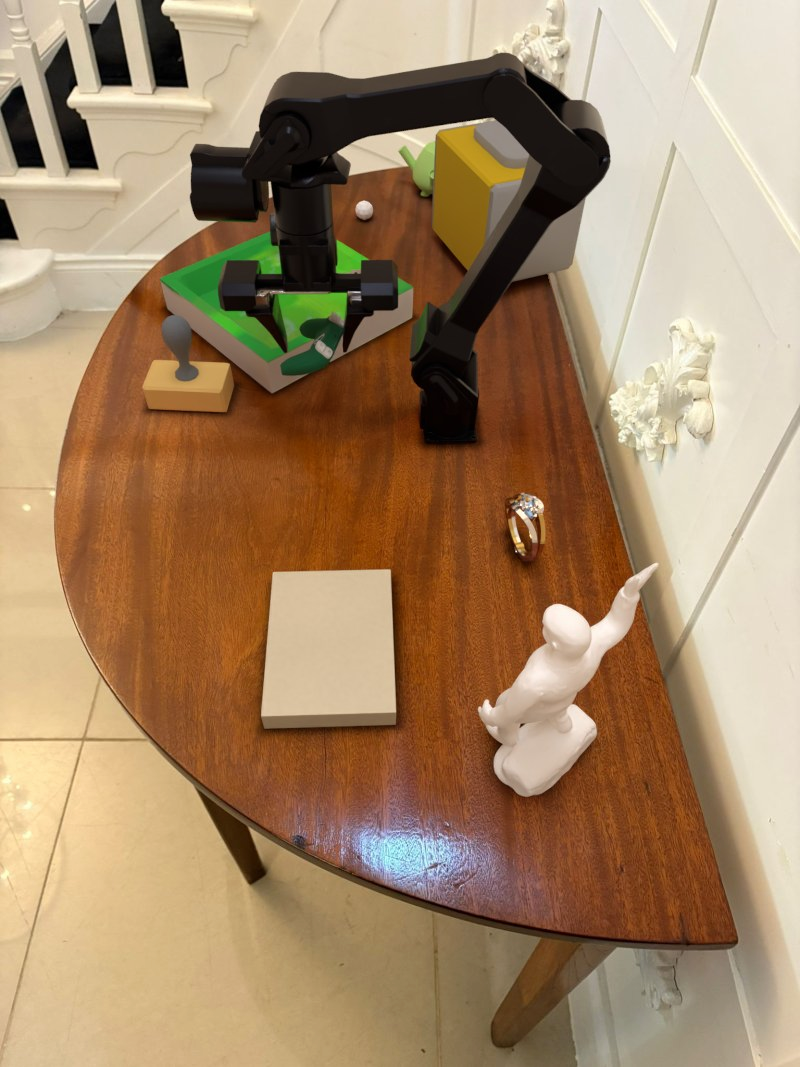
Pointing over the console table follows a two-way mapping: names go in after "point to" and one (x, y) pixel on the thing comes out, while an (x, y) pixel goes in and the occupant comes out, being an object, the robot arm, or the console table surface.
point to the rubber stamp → (186, 376)
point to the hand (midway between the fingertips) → (315, 350)
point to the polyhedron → (364, 210)
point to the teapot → (421, 167)
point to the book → (330, 650)
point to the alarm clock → (490, 197)
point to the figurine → (555, 694)
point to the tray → (248, 338)
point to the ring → (526, 514)
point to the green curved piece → (316, 346)
